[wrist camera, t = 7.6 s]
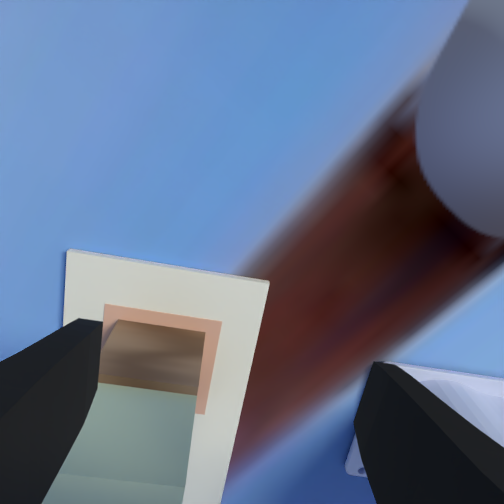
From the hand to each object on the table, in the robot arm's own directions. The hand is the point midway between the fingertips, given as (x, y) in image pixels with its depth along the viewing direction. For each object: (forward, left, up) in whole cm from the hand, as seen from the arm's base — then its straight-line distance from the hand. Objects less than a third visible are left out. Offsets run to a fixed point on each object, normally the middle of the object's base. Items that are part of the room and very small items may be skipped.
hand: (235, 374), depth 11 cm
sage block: (+3, +7, -6) cm, 10 cm away
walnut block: (+3, +7, -10) cm, 13 cm away
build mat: (+3, +10, -10) cm, 15 cm away
